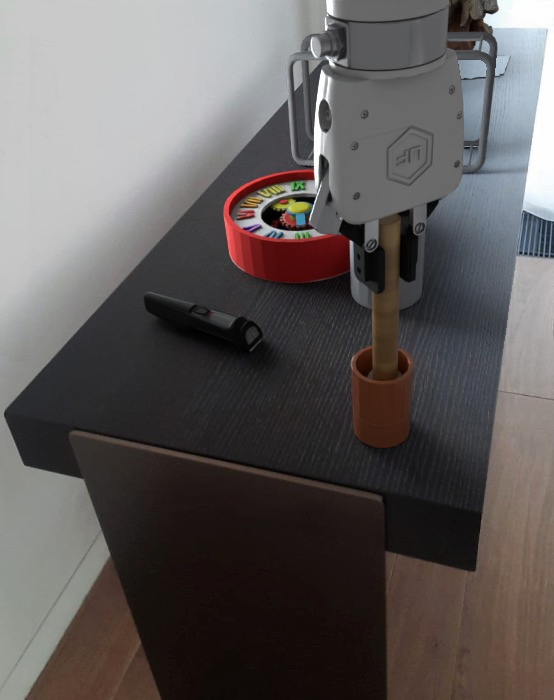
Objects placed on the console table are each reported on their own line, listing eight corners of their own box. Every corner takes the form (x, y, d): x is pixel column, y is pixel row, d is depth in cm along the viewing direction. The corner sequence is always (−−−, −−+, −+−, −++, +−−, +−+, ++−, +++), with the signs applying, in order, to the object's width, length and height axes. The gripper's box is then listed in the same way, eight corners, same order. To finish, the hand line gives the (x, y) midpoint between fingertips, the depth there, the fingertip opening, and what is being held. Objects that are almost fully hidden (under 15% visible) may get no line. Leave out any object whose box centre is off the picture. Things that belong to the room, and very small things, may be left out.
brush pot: (421, 434, 66) (425, 369, 61) (372, 456, 64) (372, 391, 59) (389, 400, 70) (390, 337, 65) (342, 420, 68) (340, 357, 63)
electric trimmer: (160, 304, 87) (155, 282, 85) (265, 336, 80) (262, 313, 78) (140, 320, 84) (135, 298, 82) (247, 355, 77) (243, 332, 75)
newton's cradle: (487, 146, 114) (499, 30, 103) (483, 175, 106) (496, 52, 95) (307, 141, 122) (300, 32, 111) (291, 167, 114) (283, 53, 103)
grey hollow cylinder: (436, 296, 83) (441, 221, 77) (375, 319, 80) (375, 243, 74) (396, 265, 89) (397, 192, 83) (338, 285, 86) (335, 212, 80)
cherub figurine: (513, 54, 148) (525, -41, 137) (500, 83, 136) (511, -20, 125) (430, 51, 155) (434, -40, 143) (409, 79, 142) (413, -19, 131)
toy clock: (226, 176, 100) (367, 163, 99) (231, 213, 103) (367, 201, 103) (219, 248, 84) (386, 234, 83) (225, 289, 88) (386, 276, 87)
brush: (409, 406, 64) (416, 219, 52) (379, 419, 63) (379, 232, 51) (390, 386, 66) (392, 203, 55) (360, 398, 65) (356, 215, 54)
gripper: (304, 80, 40) (321, 337, 51) (526, 23, 45) (496, 270, 56) (249, 51, 45) (276, 289, 57) (452, 3, 50) (439, 232, 61)
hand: (385, 278), depth 56 cm, fingers closed on brush, 2 cm apart
